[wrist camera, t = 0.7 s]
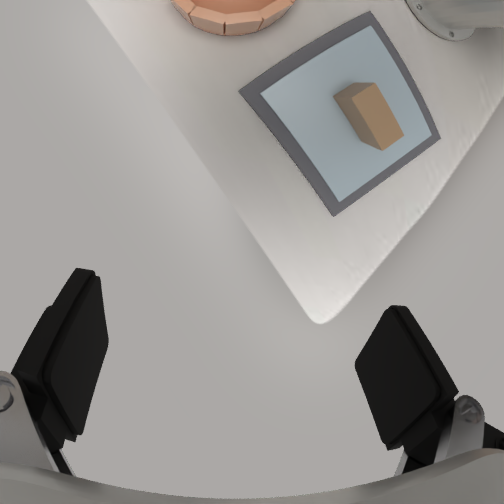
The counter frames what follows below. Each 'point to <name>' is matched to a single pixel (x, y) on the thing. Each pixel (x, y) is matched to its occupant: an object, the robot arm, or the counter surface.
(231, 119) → the counter surface
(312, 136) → the sheet
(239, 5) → the bowl
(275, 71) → the mat
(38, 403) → the robot arm
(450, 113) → the counter surface
